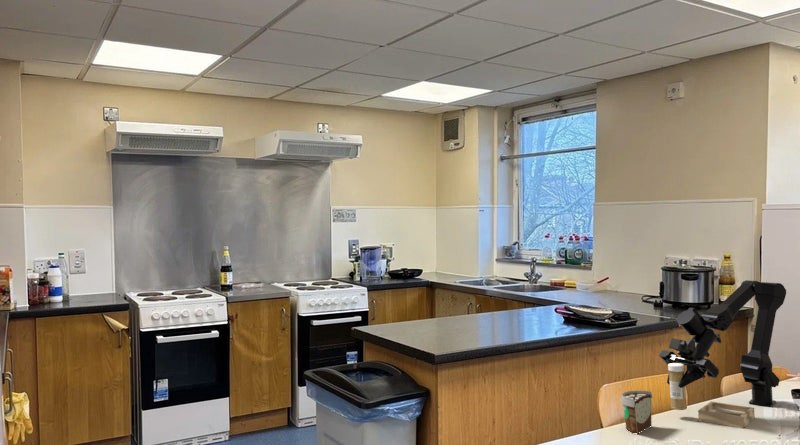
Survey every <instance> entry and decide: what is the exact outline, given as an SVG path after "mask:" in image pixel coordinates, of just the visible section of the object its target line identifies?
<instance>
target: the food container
mask: <svg viewBox="0 0 800 445" xmlns="http://www.w3.org/2000/svg"><path fill="white" fill-rule="evenodd" d="M652 399H653V394H652V391H649V390H627V391H625V392H623V393H622V395H621V398H620V403H621V404H622V405H623V406H622V407H623V414H624V421H625V429H627V430H628V431H630V432H632V433H631V434H633V433H637V434H638V433H639V432H641V431H643V430H644V429H646V430H648V429H650V428H651V427H650V426H652V425H653V424H652ZM649 427H650V428H649ZM652 427H653V426H652ZM647 428H648V429H647ZM627 430H626V431H627ZM628 431H627V432H628ZM630 432H629V433H630ZM643 432H644V431H643ZM641 433H642V432H641ZM638 435H639V434H638Z"/></svg>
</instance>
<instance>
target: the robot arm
mask: <svg viewBox="0 0 800 445" xmlns="http://www.w3.org/2000/svg"><path fill="white" fill-rule="evenodd" d="M786 296H787V289H786V288H785V286H784V284H782V283H780V282H769V281H768V282H767V281H766V282H765V281H762V282H761V281H758V280H748V279H747V280H743V281H742V282H741V284H740V286H738V287H737V288H736V289H735V290H734V291H733V292H731V294H730V295H728V297H727V298H726V299H724V300H723V302H722V303H720V304H717V305H716V306H712V307H710V308H709V309H707V310H705V311H704V312H703V313H702V314H700V313H699V312H698V310H697V309H696V308H695V307H689V308H688V309H687V310H684V311H682V312H681V313H679V314H678V315H677V317H676V323H677V324H678V325H679V326H680V327H681V328H682V329H683V330H684V331H685V333H687V335H689V336H692V337H691V339H690V338H687V339H686V340H682V339H680V338H674V337H671V339H670V341H669V342H670V343H669V345H668V349H672V350H674V351H676V353H677V354H676V353H675V352H674V351H671V350H666V349H663V350H661V351H660V353H659V355H658V356H659V358H661V359H662V361H663V362H664V363H665V364H666V365H667V366H668V364H670V363H681V364H684V366H686V370H685V371H684V376H683V377H682V379H681V381H680V383H679V385H678V386H679V387H680V388H682V387H684V386H685V387H686V386H688V385H690V384H691V383H694V382H696V381H698V380H700V379H703V378H706V375H707V376H708V377H709V378H714V379H717V377H718V376H719V373H720V370H719V368H718V367H717V366H716V364H714V363H713V361H712V360H711V359H709V357H710V355H711V354H710V353H709V351H710V349H711V348H712V347H713V344H714V343H718V344H721V343H722V338H721V337H720V336H721V335H720V334H719V333H717V332H715V331H721V332H724V331H727V330H728V329H729V328H730V327H731V325H732V324H733V322H734V317H735V315H736V314H737V313H738V312H739V311H740V310H741V309H742V308H743V307H744V306H745V305H746V304H747V303H748V302H749V301H750V300H752V298H754V300H755V303H756V305H757V307H758V309H757V314H756V318H755V326H754V330H753V337H752V342H751V347H750V351H749V352H748V353H747V354H742V355H741V363H740V365H739V367H740V372H741V373H742V377H743V380H744V382H745V383H749V384H751V387H750V388H751V399H750V400H749V401H748V404H750V405H757V406H758V405H759V406H765V407H773V406H774V405H775V404H777V401H776V400H774V399H773V388H776V387H779V384H780V378H779V377H778V376H777V375H776V373H774V372H773V362H772V361H771V356H770V355H769V354H770V353H769V352H770V349H771V348H770V347H771V342H772V336H773V331H774V330H773V329H774V326H775V320H776V315H777V314H776V313H777V311H778V310H779V309H780V308H781V307H782V306H783V304H784V302H785V299H786ZM679 356H680V357H679ZM669 380H670V379H669V373H668V375H667V380H666V383H667V384H668V385H669V386H670V382H669Z"/></svg>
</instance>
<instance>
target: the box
mask: <svg viewBox="0 0 800 445" xmlns="http://www.w3.org/2000/svg"><path fill="white" fill-rule="evenodd" d="M697 411H698V415H697V416H698V421H699V422H704V423H705V422H706V423H709V424H711V423H712V424H718V425H723V426H728V427H734V428H740V429H744V428H746V427H747V426H748V425H749V424H750V423H751V422H752V421H754V419H755V407H751V406H745V405H737V404H731V403H723V402H717V401H709V402H708V403H707V404H706V405H703V406H702V407H701V408H699V409H698V410H697Z"/></svg>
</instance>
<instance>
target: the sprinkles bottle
mask: <svg viewBox="0 0 800 445" xmlns="http://www.w3.org/2000/svg"><path fill="white" fill-rule="evenodd" d="M685 368H686V367H685V365H684V364H681V363H670V364H668V365H667V370H668V374H669V379H670V380H669V382H670V385H669V395H670V396H669V397H670V408H671V409H673V410H675V411H676V410H677V411H684V410H685V411H686V410H687V409H688V406H687V392H686V391H687V390H686V386H684V387H682V388H680V387H679V386H678V385H679V383H680V381H681V379H682V377H683V376H684V374H685V372H686V370H685Z"/></svg>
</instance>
